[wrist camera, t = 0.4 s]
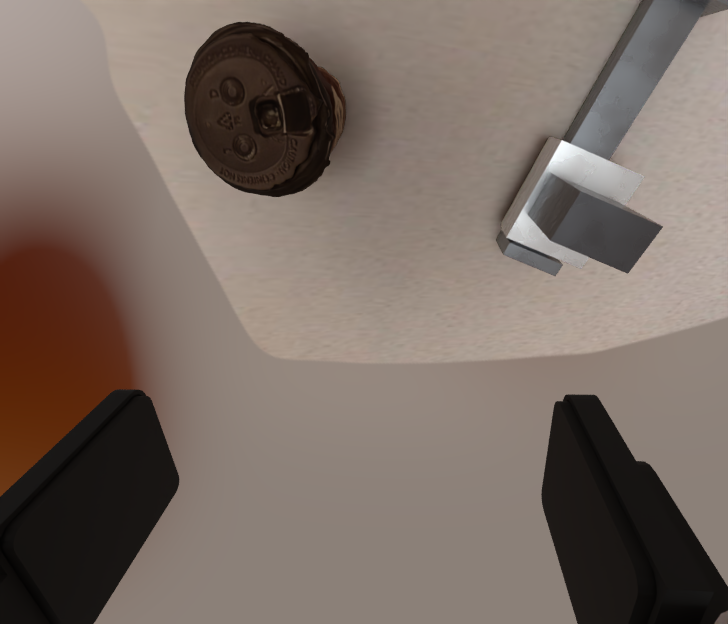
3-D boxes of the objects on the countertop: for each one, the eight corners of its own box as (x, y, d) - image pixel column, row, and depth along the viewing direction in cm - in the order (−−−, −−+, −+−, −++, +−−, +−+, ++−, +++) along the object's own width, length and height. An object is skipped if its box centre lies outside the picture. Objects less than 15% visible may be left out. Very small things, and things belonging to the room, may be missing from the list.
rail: (646, -30, 27) (676, -46, 24) (708, 0, 27) (746, -13, 24) (496, 240, 36) (503, 254, 32) (543, 260, 36) (555, 276, 33)
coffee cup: (385, 94, 32) (364, 94, 20) (330, 189, 35) (286, 235, 24) (284, 21, 30) (199, -23, 19) (237, 127, 34) (143, 145, 23)
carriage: (546, 135, 31) (595, 151, 22) (621, 167, 31) (697, 195, 22) (498, 223, 34) (523, 267, 25) (565, 251, 34) (613, 305, 26)
